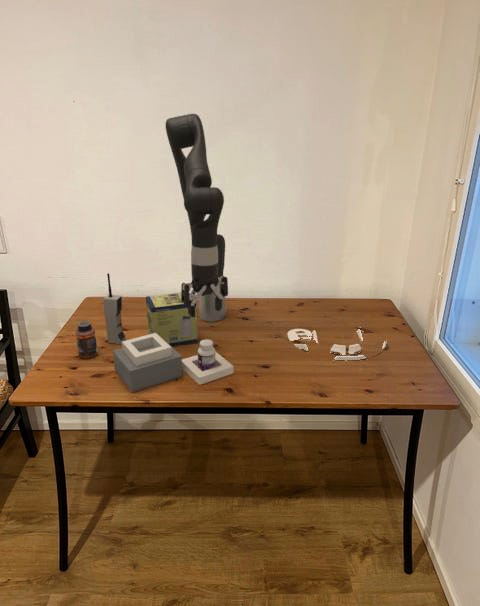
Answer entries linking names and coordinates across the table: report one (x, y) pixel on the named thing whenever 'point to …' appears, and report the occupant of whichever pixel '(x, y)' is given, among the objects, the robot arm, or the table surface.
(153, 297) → the protein box
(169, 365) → the grey white square block
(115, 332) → the vintage mobile phone
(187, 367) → the collar
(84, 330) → the supplement bottle
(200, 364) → the pill bottle
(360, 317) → the table surface
